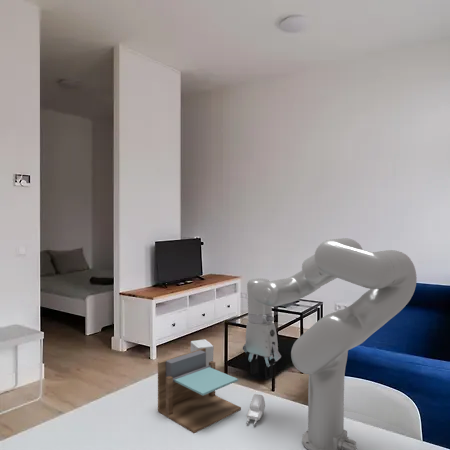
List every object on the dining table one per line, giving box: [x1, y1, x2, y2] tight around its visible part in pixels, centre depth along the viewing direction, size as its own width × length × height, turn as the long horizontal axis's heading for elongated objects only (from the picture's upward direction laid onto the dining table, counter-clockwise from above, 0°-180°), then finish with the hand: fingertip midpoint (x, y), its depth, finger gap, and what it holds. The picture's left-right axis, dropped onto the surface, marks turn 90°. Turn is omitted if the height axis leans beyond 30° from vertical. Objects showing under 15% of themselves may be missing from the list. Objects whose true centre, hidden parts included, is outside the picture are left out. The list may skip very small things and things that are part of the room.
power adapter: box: [246, 393, 266, 427], centre depth 124 cm, size 10×4×5 cm, turn 157°
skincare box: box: [189, 338, 214, 366], centre depth 150 cm, size 8×7×16 cm
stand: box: [157, 348, 242, 434], centre depth 130 cm, size 18×20×16 cm
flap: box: [166, 350, 239, 395], centre depth 129 cm, size 18×16×6 cm
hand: (261, 375), depth 127 cm, fingers open, 5 cm apart
